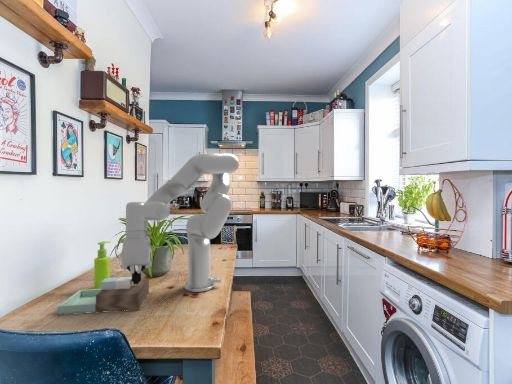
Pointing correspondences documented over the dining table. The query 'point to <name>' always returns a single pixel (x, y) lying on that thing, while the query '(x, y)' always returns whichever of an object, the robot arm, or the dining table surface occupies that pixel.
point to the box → (80, 302)
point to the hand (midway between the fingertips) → (136, 283)
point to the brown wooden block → (123, 298)
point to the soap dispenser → (101, 266)
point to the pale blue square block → (108, 283)
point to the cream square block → (124, 283)
